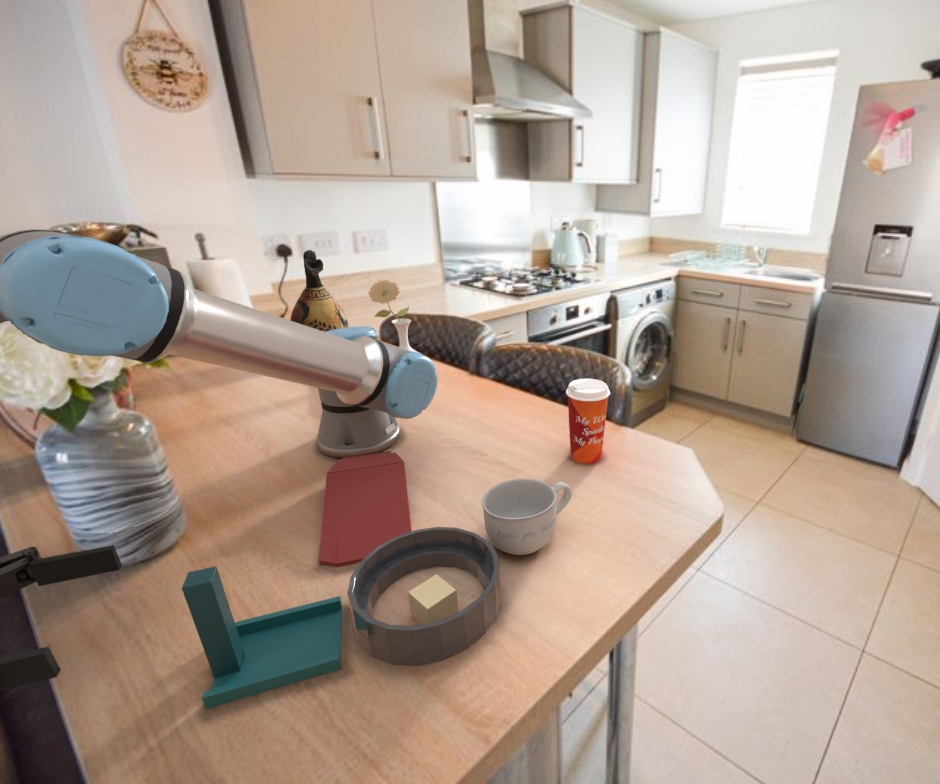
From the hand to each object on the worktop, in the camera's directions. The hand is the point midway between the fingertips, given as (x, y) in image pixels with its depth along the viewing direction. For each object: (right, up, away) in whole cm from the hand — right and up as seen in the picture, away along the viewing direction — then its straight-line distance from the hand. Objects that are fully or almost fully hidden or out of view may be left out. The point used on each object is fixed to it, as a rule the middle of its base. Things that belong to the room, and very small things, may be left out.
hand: (89, 603), depth 48 cm
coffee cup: (+47, +7, +52) cm, 71 cm away
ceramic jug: (-32, +31, +105) cm, 114 cm away
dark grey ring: (+28, -7, +16) cm, 33 cm away
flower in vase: (-4, +26, +95) cm, 98 cm away
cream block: (+30, -5, +15) cm, 34 cm away
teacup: (+39, -2, +29) cm, 48 cm away
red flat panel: (+12, 0, +34) cm, 36 cm away
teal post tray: (+13, -10, +9) cm, 18 cm away
